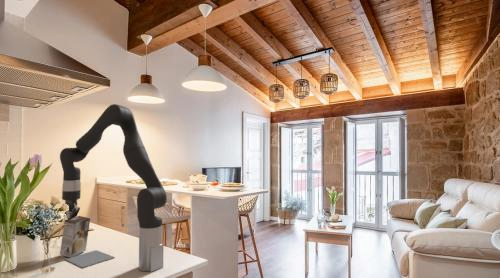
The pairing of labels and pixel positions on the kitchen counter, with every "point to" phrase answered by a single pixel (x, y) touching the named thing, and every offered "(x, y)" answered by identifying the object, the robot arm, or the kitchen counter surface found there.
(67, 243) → the coffee box
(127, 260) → the kitchen counter surface
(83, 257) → the mat
